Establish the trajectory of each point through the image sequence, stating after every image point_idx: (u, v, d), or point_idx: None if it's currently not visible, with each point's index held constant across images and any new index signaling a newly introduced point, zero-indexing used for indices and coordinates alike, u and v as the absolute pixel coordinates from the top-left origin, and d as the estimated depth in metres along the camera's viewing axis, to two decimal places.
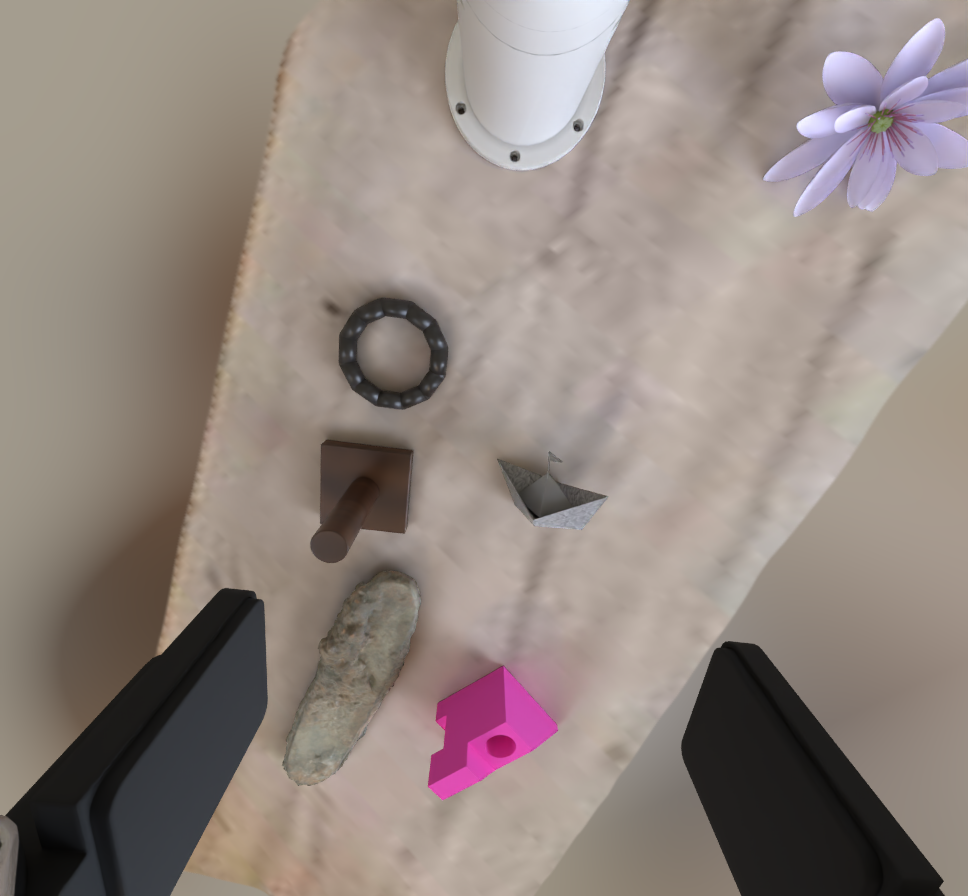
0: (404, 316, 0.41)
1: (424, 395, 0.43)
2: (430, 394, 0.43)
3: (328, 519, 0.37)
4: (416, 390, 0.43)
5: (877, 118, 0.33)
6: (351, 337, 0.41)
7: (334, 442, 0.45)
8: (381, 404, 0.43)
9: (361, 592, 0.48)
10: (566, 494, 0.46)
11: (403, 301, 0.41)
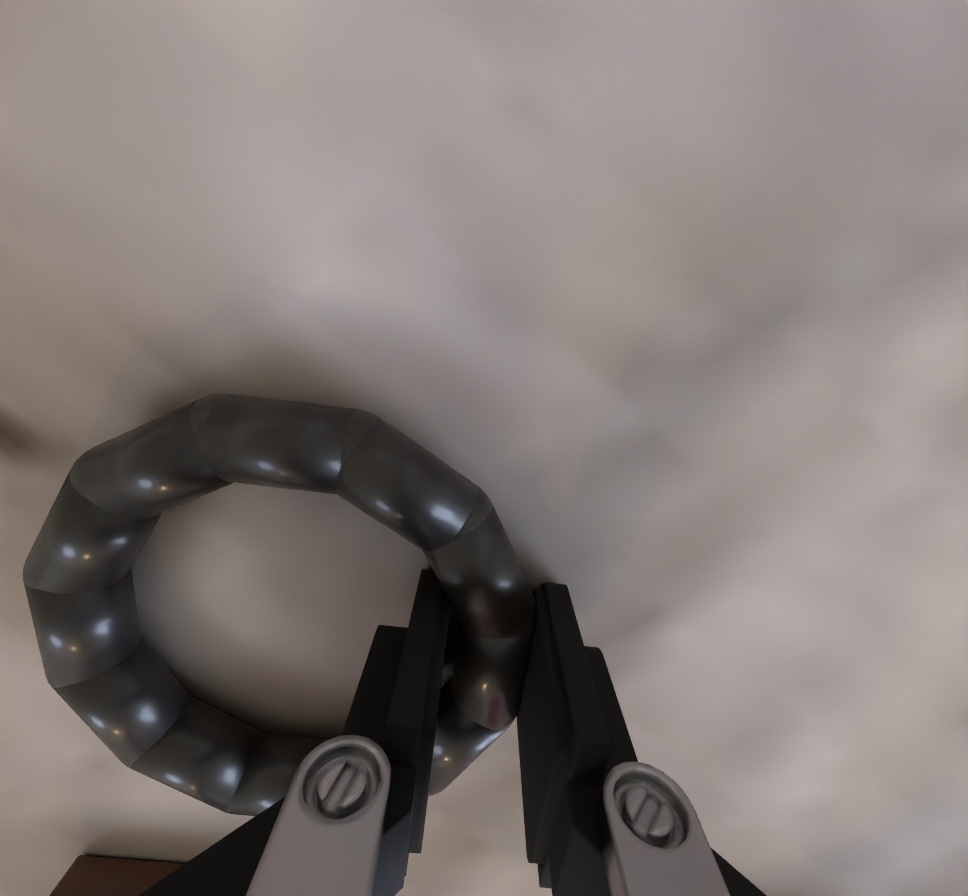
0: (329, 491, 0.08)
1: (428, 791, 0.10)
2: None
3: None
4: None
5: None
6: (74, 584, 0.08)
7: (96, 884, 0.13)
8: (252, 809, 0.11)
9: None
10: None
11: (321, 417, 0.08)
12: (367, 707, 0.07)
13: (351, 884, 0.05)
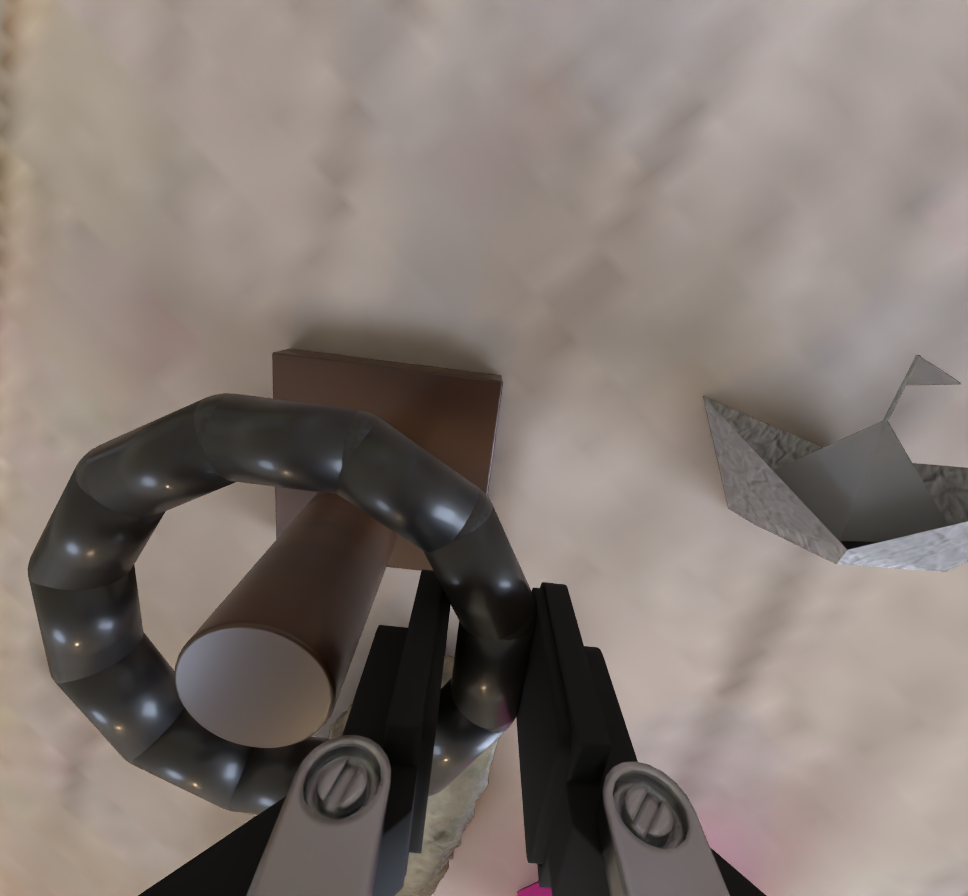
0: (330, 491, 0.08)
1: None
2: None
3: (264, 564, 0.10)
4: None
5: None
6: (78, 581, 0.09)
7: (307, 353, 0.18)
8: (252, 807, 0.11)
9: None
10: None
11: (323, 418, 0.08)
12: (368, 707, 0.07)
13: (352, 884, 0.05)
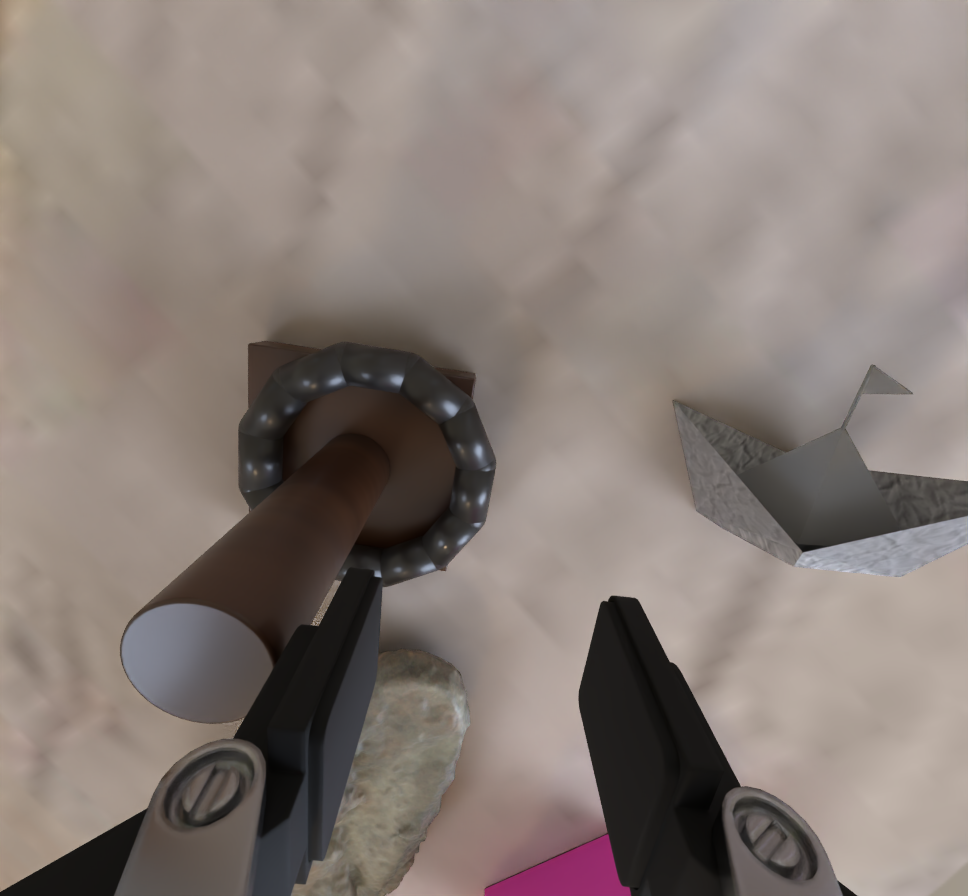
0: (396, 390, 0.17)
1: (435, 563, 0.19)
2: (449, 560, 0.19)
3: (218, 546, 0.10)
4: (418, 553, 0.19)
5: None
6: (266, 433, 0.17)
7: (283, 345, 0.18)
8: (337, 576, 0.19)
9: None
10: None
11: (395, 354, 0.17)
12: (267, 709, 0.07)
13: (228, 880, 0.05)
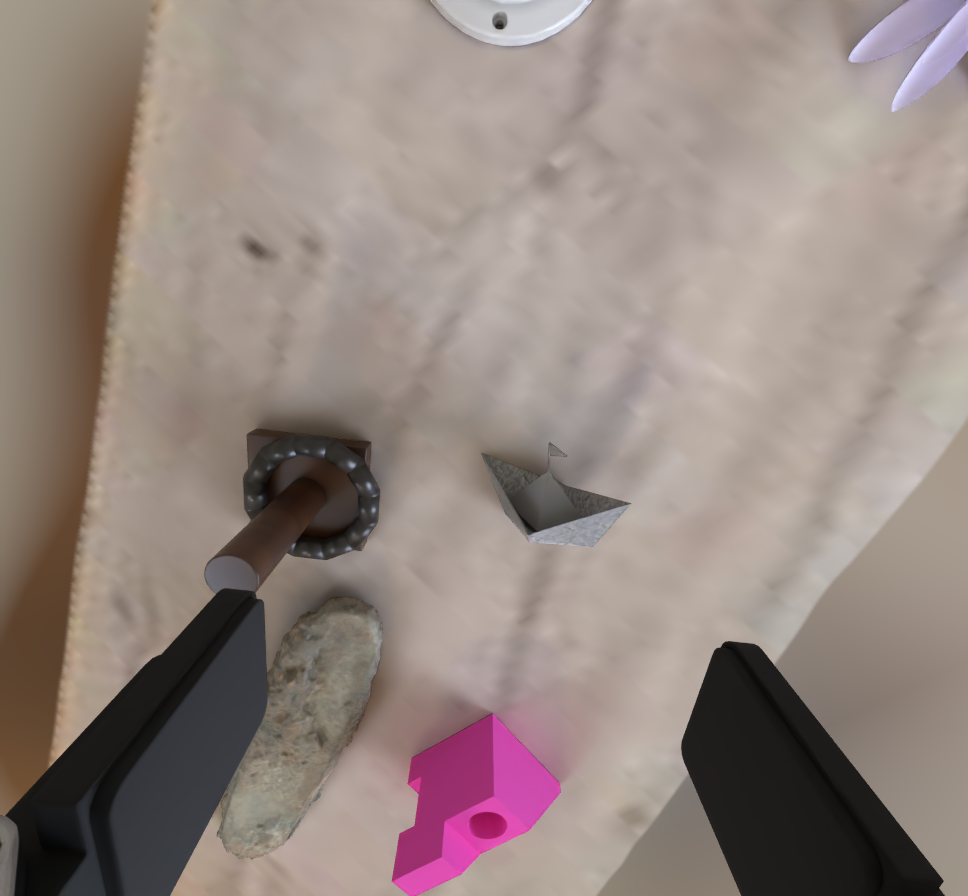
0: (322, 457, 0.33)
1: (350, 546, 0.35)
2: (359, 544, 0.35)
3: (236, 537, 0.26)
4: (341, 541, 0.35)
5: None
6: (257, 481, 0.33)
7: (265, 432, 0.34)
8: (299, 554, 0.35)
9: (304, 626, 0.37)
10: (572, 499, 0.35)
11: (320, 440, 0.33)
12: None
13: None
